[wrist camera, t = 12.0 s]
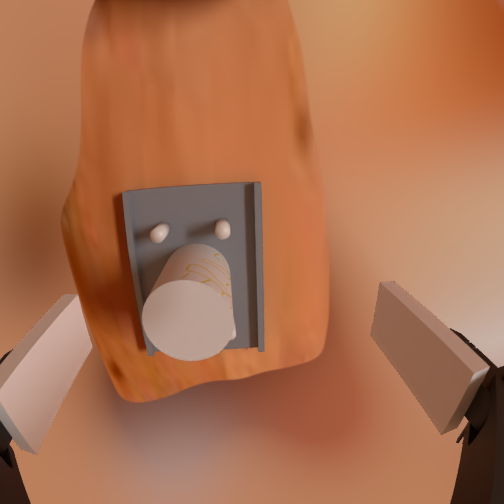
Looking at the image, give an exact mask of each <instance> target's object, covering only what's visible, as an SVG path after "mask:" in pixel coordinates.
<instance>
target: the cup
mask: <svg viewBox="0 0 504 504" xmlns="http://www.w3.org/2000/svg"><path fill="white" fill-rule="evenodd" d="M142 323H143V327H144V330H145V333H146V335H147V337H148V338H149V340H150V341H151V342H152V344H153V345H154V346H155V347H156V348H158V349H159V350H160V351H161V352H163V353H165V354H166V355H168V356H171V357H173V358H176V359H180V360H186V361H197V360H203V359H207V358H209V357H212V356H214V355H216V354H217V353H219V352H220V351H221V350H222V349H223V348H224V347H225V346H226V345H227V344H228V342H229V341H230V339H231V336H232V333H233V329H234V317H233V304H232V291H231V278H230V269H229V265H228V263H227V261H226V259H225V258H224V256H223V255H222V254H221V253H220V252H219V251H217V250H216V249H214V248H213V247H211V246H208V245H205V244H196V243H195V244H188V245H185V246H183V247H181V248H179V249H177V250H176V251H175V252H174V253H173V254H172V255H171V256H170V258H169V259H168V261H167V263H166V265H165V267H164V268H163V270H162V272H161V274H160V276H159V278H158V279H157V281H156V283H155V285H154V287H153V289H152V291H151V292H150V294H149V296H148V298H147V300H146V302H145V304H144V307H143V311H142Z"/></svg>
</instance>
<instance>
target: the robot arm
mask: <svg viewBox="0 0 504 504" xmlns="http://www.w3.org/2000/svg"><path fill="white" fill-rule="evenodd" d="M371 337H372V338H373V339H374V341H375V342H376V343H377V345H378V346H379V347H380V349H381V350H382V352H383V353H384V354H385V356H386V357H387V358H388V360H389V361H390V362H391V364H392V365H393V366H394V368H395V369H396V370H397V372H398V373H399V375H400V376H401V378H402V379H403V380H404V382H405V383H406V385H407V386H408V387H409V389H410V390H411V392H412V393H413V395H414V396H415V397H416V399H417V400H418V402H419V403H420V405H421V406H422V407H423V409H424V410H425V412H426V413H427V415H428V416H429V418H430V419H431V421H432V422H433V423H434V425H435V426H436V428H437V429H438V431H439V432H440V434H441V435H442V434H444V433H447V432H449V431H451V430H453V429H456V428H457V427H458V426H459V424H460V422H461V421H462V419H463V417H464V416H465V417H466V418H467V420H468V421H469V422H468V423H467V425H466V427H465V428H464V430H463V431H462V433H461V434H460V436H459V437H458V439H457V442H456V443H459V442H460V440H461V439H462V437H464V440H463V443H462V444H463V447H462V453H461V459H460V464H459V469H458V474H457V478H456V483H455V487H454V492H453V495H452V499H451V503H450V504H504V366H502V367H499V368H497V366H495V365H494V364H493V363H492V362H491V361H490V360H489V359H488V358H487V357H486V356H485V355H484V354H483V353H482V352H481V351H479V349H478V348H476V347H475V346H474V345H473V344H472V343H469V340H468V339H467V338H465V337H464V336H463V335H462V334H461V333H459V332H457V331H455V330H453V329H451V328H450V329H449V328H448V327H447V326H446V325H445V324H444V323H443V322H441V321H440V320H439V319H438V318H437V317H436V316H435V315H433V314H432V313H431V312H430V311H429V310H428V309H427V308H425V307H424V306H423V305H422V304H421V303H420V302H418V301H417V300H416V299H415V298H414V297H413V296H411V295H410V294H409V293H408V292H407V291H406V290H404V289H403V288H402V287H401V286H399V285H398V284H397V283H396V282H395V281H389V282H380V284H379V291H378V297H377V302H376V308H375V314H374V319H373V324H372V329H371ZM91 349H92V344H91V341H90V337H89V334H88V331H87V327H86V324H85V320H84V317H83V313H82V309H81V305H80V301H79V297H78V295H74V294H72V295H71V294H70V295H69V294H67V295H66V294H64V295H63V296H62V297H61V298H60V299H59V300H58V301H57V302H56V303H55V304H54V305H53V306H52V307H51V308H50V309H49V310H48V311H47V312H46V314H45V315H44V316H43V317H42V318H41V319H40V320H39V321H38V322H37V323H36V324H35V325H34V326H33V327H32V329H31V330H30V331H29V332H28V333H27V334H26V335H25V336H24V337H23V339H22V340H21V341H20V342H19V343H18V344H17V346H16V347H15V348H14V349H12V350H11V351H9V352H8V353H6V354H5V355H4V356H3V357H2V358H1V360H0V504H31V503H30V500H29V498H28V495H27V492H26V490H25V487H24V484H23V481H22V478H21V475H20V472H19V468H18V465H17V462H16V458H15V454H14V451H13V449H12V447H11V446H10V445H9V444H10V442H11V440H12V438H13V440H14V441H15V442H16V444H17V445H18V446H19V448H21V449H22V450H25V451H27V452H30V453H33V454H36V455H37V453H38V451H39V449H40V447H41V445H42V442H43V440H44V438H45V436H46V434H47V432H48V430H49V428H50V425H51V424H52V421H53V419H54V417H55V415H56V413H57V411H58V409H59V408H60V405H61V403H62V401H63V400H64V398H65V396H66V394H67V392H68V390H69V388H70V386H71V385H72V383H73V381H74V379H75V377H76V375H77V374H78V372H79V370H80V368H81V366H82V365H83V363H84V361H85V359H86V358H87V356H88V354H89V352H90V351H91Z"/></svg>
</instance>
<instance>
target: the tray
mask: <svg viewBox="0 0 504 504" xmlns="http://www.w3.org/2000/svg"><path fill="white" fill-rule="evenodd" d="M122 198H123V209H124V219H125V228H126V236H127V244H128V252H129V259H130V266H131V272H132V278H133V284H134V290H135V296H136V301H137V307H138V312H139V317H140V322H141V326H142V331H143V336H144V340H145V344H146V349H147V353H148V356H154V353H155V351H160V350H159V349H158V348H156V347H155V346H154V345H153V344H152V342H151V341H150V340H149V338H148V337H147V335H146V333H145V330H144V327H143V323H142V311H143V307H144V304H145V302H146V300H147V298H148V296H149V294H150V292H151V291H152V289H153V287H154V285H155V283H156V281H157V279H158V278H159V276H160V274H161V272H162V270H163V268H164V267H165V265H166V263H167V261H168V259H169V258H170V256H171V255H172V254H173V253H174V252H175V251H176V250H177V249H179V248H181V247H183V246H185V245H188V244H195V243H196V244H205V245H208V246H211V247H213V248H214V249H216V250H217V251H219V252H220V253H221V254H222V255H223V256H224V258H225V259H226V261H227V263H228V265H229V269H230V278H231V291H232V304H233V317H234V329H233V333H232V336H231V339H230V341H229V342H228V344H227V345H226V346H225V347H224V348H223V349H238V348H252V347H258V352H264V286H263V234H262V192H261V182H240V183H218V184H201V185H186V186H172V187H160V188H149V189H139V190H129V191H125V192H122Z"/></svg>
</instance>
